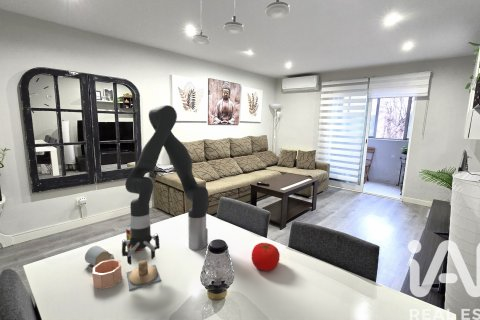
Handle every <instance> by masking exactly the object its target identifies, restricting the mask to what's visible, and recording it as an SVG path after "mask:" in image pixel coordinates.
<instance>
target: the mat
mask: <svg viewBox="0 0 480 320" xmlns="http://www.w3.org/2000/svg"><path fill="white" fill-rule="evenodd" d="M151 266H153V267H155V268H156V269H157V276H156V278H155V279H154V280H152V281H151V282H149V283H146V284H142V285H135V284H132V283H131V282H130V281H129V274H130V273H131V272H132V271H133V270H130V271H126V279H127V284H128V285H127V286H128V290H129V291H133V290H137V289H140V288H143V287H146V286H150V285H153V284H156V283H160V282H162V278H161V275H160V273H159V271H158V268H157V265H156V264H151Z"/></svg>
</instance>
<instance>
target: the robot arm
mask: <svg viewBox="0 0 480 320" xmlns="http://www.w3.org/2000/svg"><path fill="white" fill-rule="evenodd" d="M177 119H178V113H177V111H176V109H175V108H174V107H173V106H171V105H160V106H155V107H152V108H151V109H150V110H149V111H148V120H149V123H150V124H151V126H152V128H153V130H154V133H153V134H152V135H151V136H150V138H149V140H148V141H147V142H146V144H145V145H144V147H143V148H142V150H141V152H140V155H139V158H138V161H137V164H136V165H135V166H134V167H133V169H132V170H131V172H130V173H129V175H128V176H127V178H126V179H125V185H124V186H125V190H126V191H127V192H128V193H130V194H137V195H138V197H137V198H135V199H132V200H131V201H130V204H129V205H130V218H129V219H130V220H129V225H130V230H131V238H130V240H127V239H123V240H121V256H122V257H127V259H126V261H127V264H128V265H129V266H131V265H132V254H133V252H134V251H135V249H140V248H143V249H145V248H146V247H147V248H148V249H149V250H150V258H151V260H154V259H155V257H156V251H157V250H159V249H160V247H161V246H160V239H159V238H160V237H159V234H158V233H154V235H152V233H151V216H150V203H151V202H150V201H151V198H152V195H153V190H154V182H153V179H151V178H150V177H148V176H146V174H149V173H153V172H154V171H155V169H156V165H157V164H158V160H159V158H160V154H161V152H162V149H163V147H164V150H165V152H166V154H167V156H168V158H169V161H170V163H171V165H172V166H173V169H174V171H175V173H176V175H177V178H179V181H180V183H181V185H182V189H183V192H184V195H185V197H186V199H188V201H189V202H192V207H191V208H189V209H188V213H187V215H188V218H187V219H188V224H187V225H188V248H189V249H190V250H192V251H193V250H194V251H198V250H202V249H205V248H206V247H208V246H209V245H208V244H209V241H208V240H209V238H208V235H209V233H208V230H209V229H208V228H207V211H208V209H209V208H208V207H209V191H208V188H207V187H205V186H203V185H200V184H198V182H197V180H196V179H195V176H194V174H193V161H192V158H191V156H190V153H189V150H188V148H187V147H186V146H185V145H184V144H183V143H182V142H181V141H180V140H179V139H178V138H177V137H176V136H175V134H174V133H173V132H172V130H173V128H174V126H175V124H176V122H177V121H178V120H177ZM152 240H153V241H154V243H155V245H153V244H152V242H151V241H152ZM129 243H130V244H131V247H130V249H129V250H128V251H127V250H126V249H127V246H128V244H129ZM207 245H208V246H207Z"/></svg>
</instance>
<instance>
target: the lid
mask: <svg viewBox="0 0 480 320" xmlns="http://www.w3.org/2000/svg"><path fill="white" fill-rule="evenodd" d="M137 264H138V265H137V266H138V267H136V268H134V269H133V270H131V271H132V272H131V273H130V274H129V281H130V282H131V283H132V284H135V285H142V284H146V283H149V282H151V281H152V280H154V279H155V278H156V276H157V270H158V268H157V269H156V268H155V267H153V266H152V265H148V260H147V259H142V260H140V261H138V263H137Z"/></svg>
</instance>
